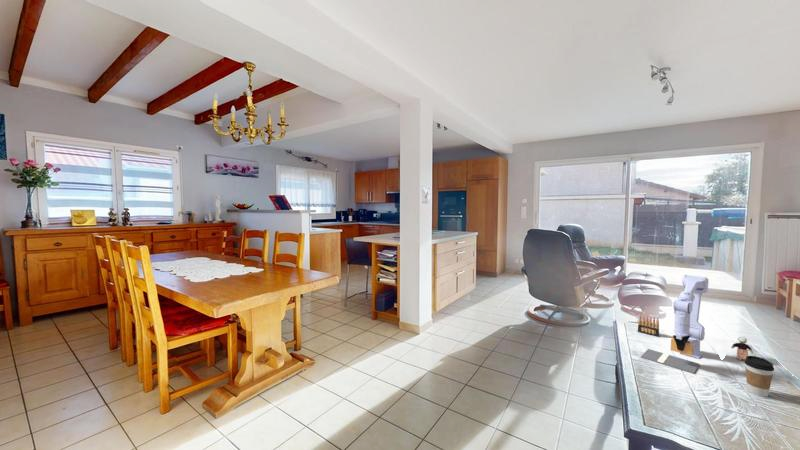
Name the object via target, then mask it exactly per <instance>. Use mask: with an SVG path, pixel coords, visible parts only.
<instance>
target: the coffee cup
mask: <svg viewBox="0 0 800 450" xmlns="http://www.w3.org/2000/svg"><path fill="white" fill-rule="evenodd" d="M743 362H744V364H745V368H744V369H745V377H746V378H745V379H746V386H747V387H746V388H747V391H748V393H750V394H753V395H755V396H758V397H762V398H768V397H769V395H770V390H771V384H772V380H773V376H774V375H773V371H775V367H774V365H773V363H772V362H771V361H769V360H767V359H765V358H763V357H761V356H755V355H748V356H746V360H745V361H743Z"/></svg>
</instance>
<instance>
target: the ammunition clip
mask: <svg viewBox="0 0 800 450" xmlns="http://www.w3.org/2000/svg"><path fill="white" fill-rule="evenodd" d="M637 323H638V324H637V332H638V333H640V334H645V335H649V336H653V337H657V338H659V337H660V321H659V318H658V317H656V319H655V317H653V318H652V316H650V317H649V316H648V315H646V317H645V315H644V314H643V315H642V314H639V316H638V322H637Z"/></svg>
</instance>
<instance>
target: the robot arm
mask: <svg viewBox="0 0 800 450" xmlns="http://www.w3.org/2000/svg"><path fill="white" fill-rule="evenodd" d="M681 282H682V285H683V288H684V291H681V292H680V293H679V295H678V298H677V299H676V300H674V302H673V313H674V329H673V332H674V334H673V335H672V338H674V340H675V342H676V345H677V349H678V350H681V351H683V350H684V347H685V344H686V342H687V341H690V342H694V345H693V355H692V356H690V355H686V354H683V353H680V354H682V355H685V356H688V357H692V358H695V359H700V358H701V357H702V354H703V352H702V351H701V341H704V340H705V334H706V333H705V327H704V326H703V324H701V323H700V322H699V317H700V308H701V301H702V296H703V294H706V293H707V292H708V290H709V278H708V277H705V276H704V277H703V276H695V275H690V274H689V275H688V274H684V275H683V276H682V278H681Z"/></svg>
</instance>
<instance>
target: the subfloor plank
mask: <svg viewBox="0 0 800 450" xmlns="http://www.w3.org/2000/svg"><path fill="white" fill-rule="evenodd" d="M640 358H642V359H645V360H648V361H650V362H654V363H657V364H661V365H664V366H667V367H671V368H674V369H676V370H680V371H683V372H686V373H689V374H693V375H694V374H695V373H696V371H697V370H698V368H699V367H700V363H698V362H694V361H691V360H688V359H684V358H681V357H678V356H674V355H671V354H667V353H664V352H660V351H658V350H654V349H650V348H647V349H646V351H644V352H643V353H642V355H640Z"/></svg>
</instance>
